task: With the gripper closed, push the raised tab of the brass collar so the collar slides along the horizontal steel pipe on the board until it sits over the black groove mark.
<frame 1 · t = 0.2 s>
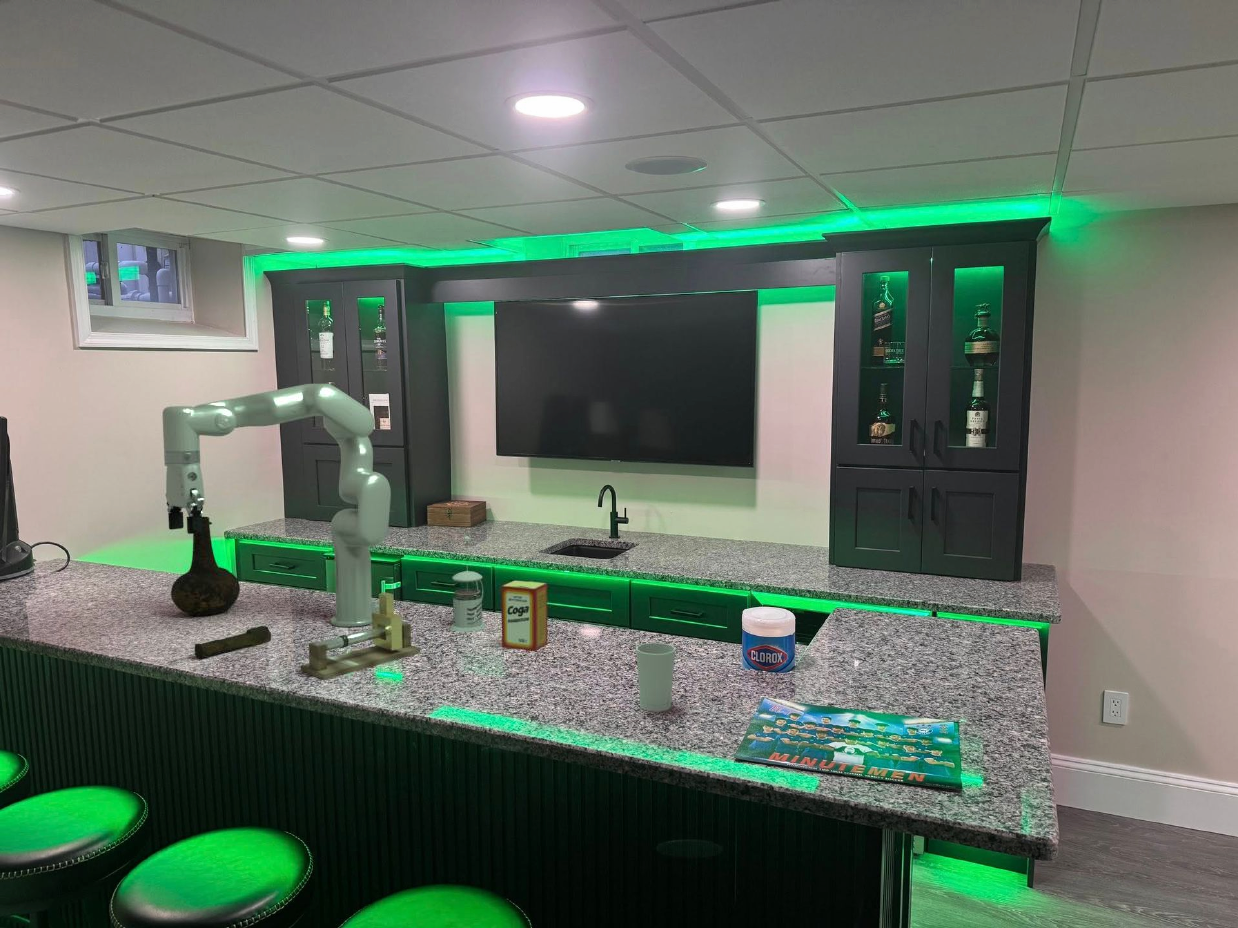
hand: (185, 530, 201), 31 cm above the worktop, tool pointing down, fingers open, 9 cm apart
cup: (655, 706, 174), on the worktop
french press: (469, 626, 234), on the worktop
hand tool: (234, 650, 212), on the worktop
baking soda box: (524, 646, 215), on the worktop
pipe stand: (362, 661, 202), on the worktop
glass bottle: (206, 612, 248), on the worktop
pipe: (361, 636, 202), point 5 cm above the worktop
collar: (386, 619, 207), point 9 cm above the worktop, slide at 0.0 cm
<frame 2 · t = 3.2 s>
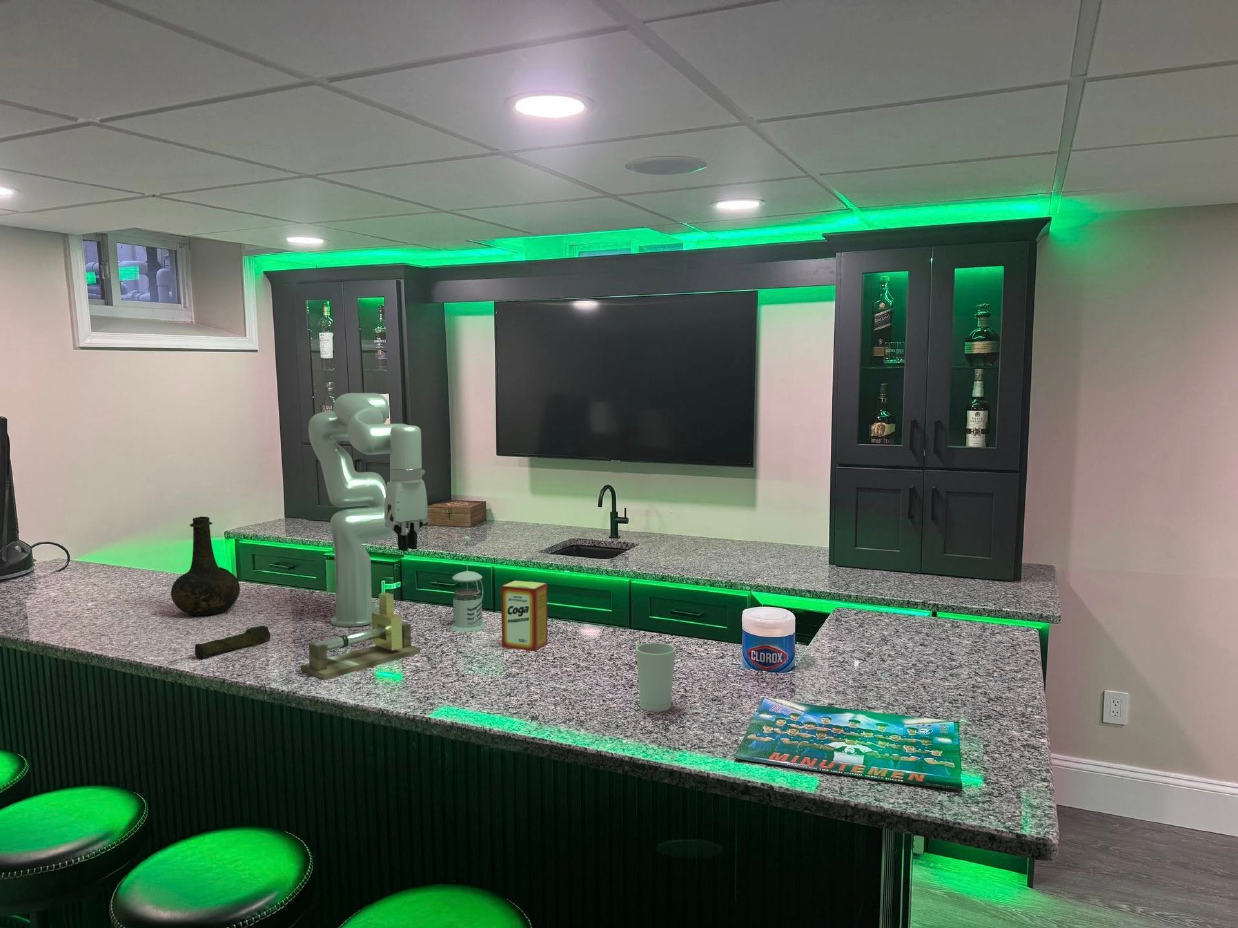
hand: (407, 549, 211), 25 cm above the worktop, tool pointing down, fingers closed
nothing on the worktop moved.
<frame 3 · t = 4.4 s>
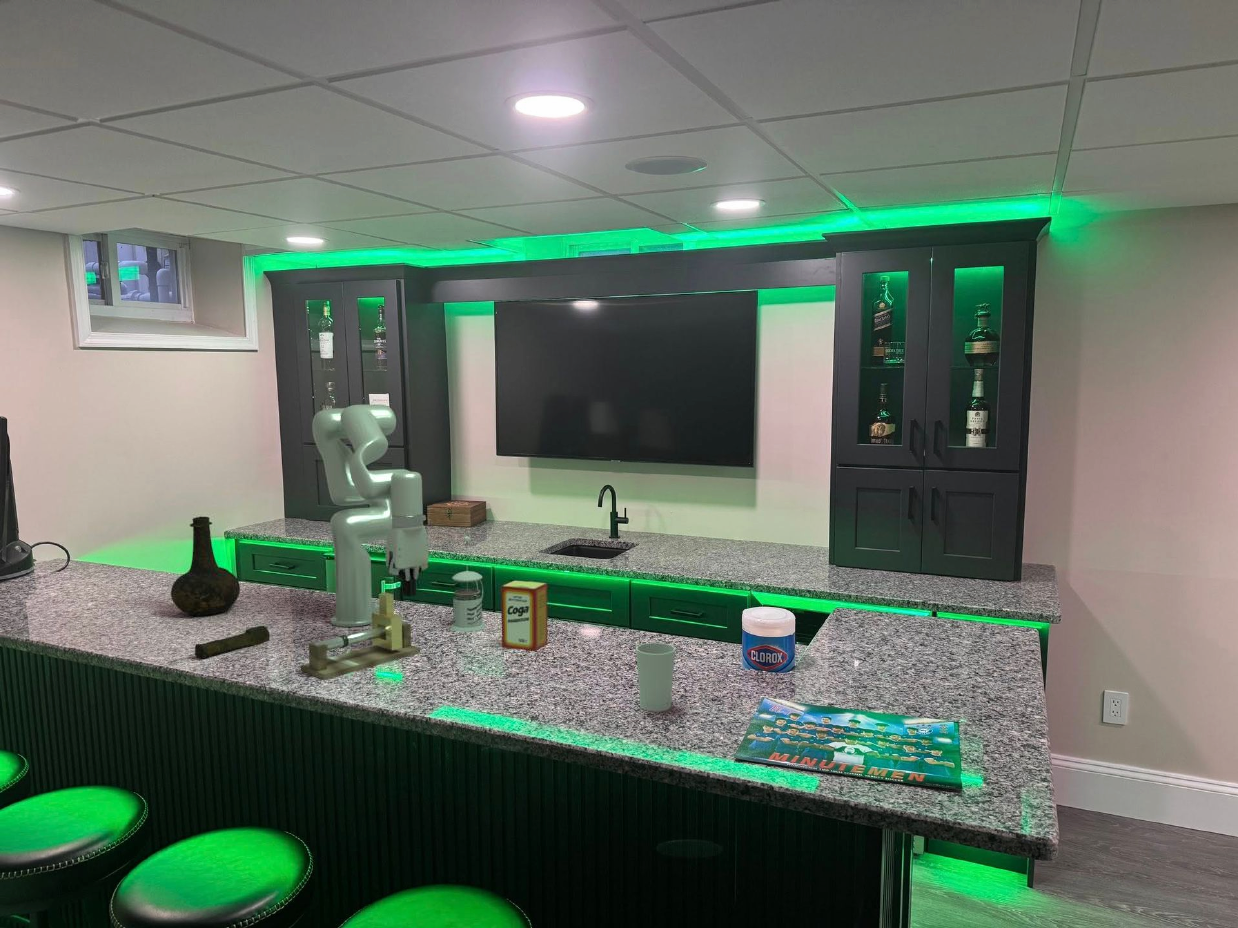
hand: (409, 595, 211), 14 cm above the worktop, tool pointing down, fingers closed
nothing on the worktop moved.
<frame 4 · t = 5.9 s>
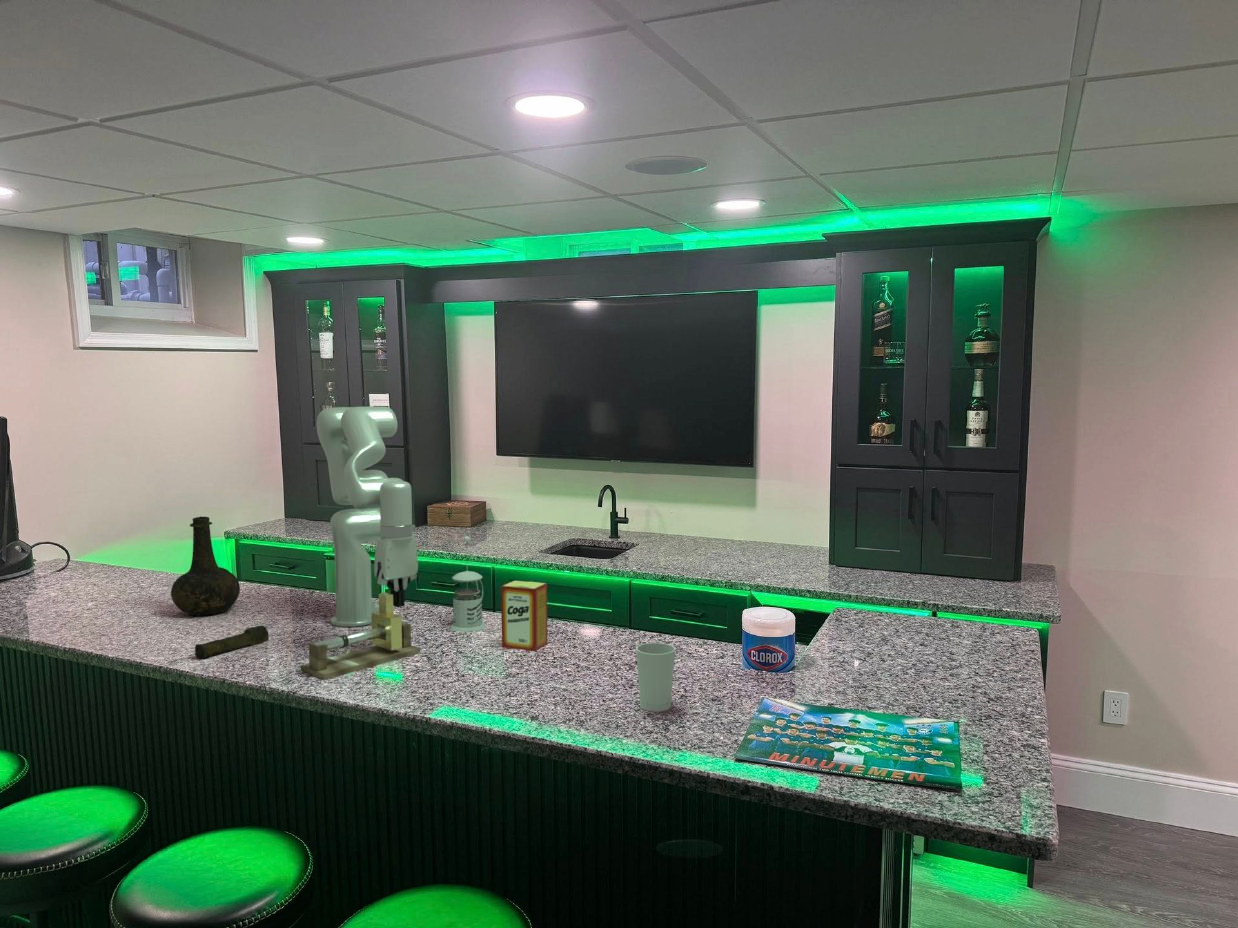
hand: (398, 605, 209), 12 cm above the worktop, tool pointing down, fingers closed
collar: (386, 620, 207), point 9 cm above the worktop, slide at 0.1 cm, touching gripper
everything else where it was.
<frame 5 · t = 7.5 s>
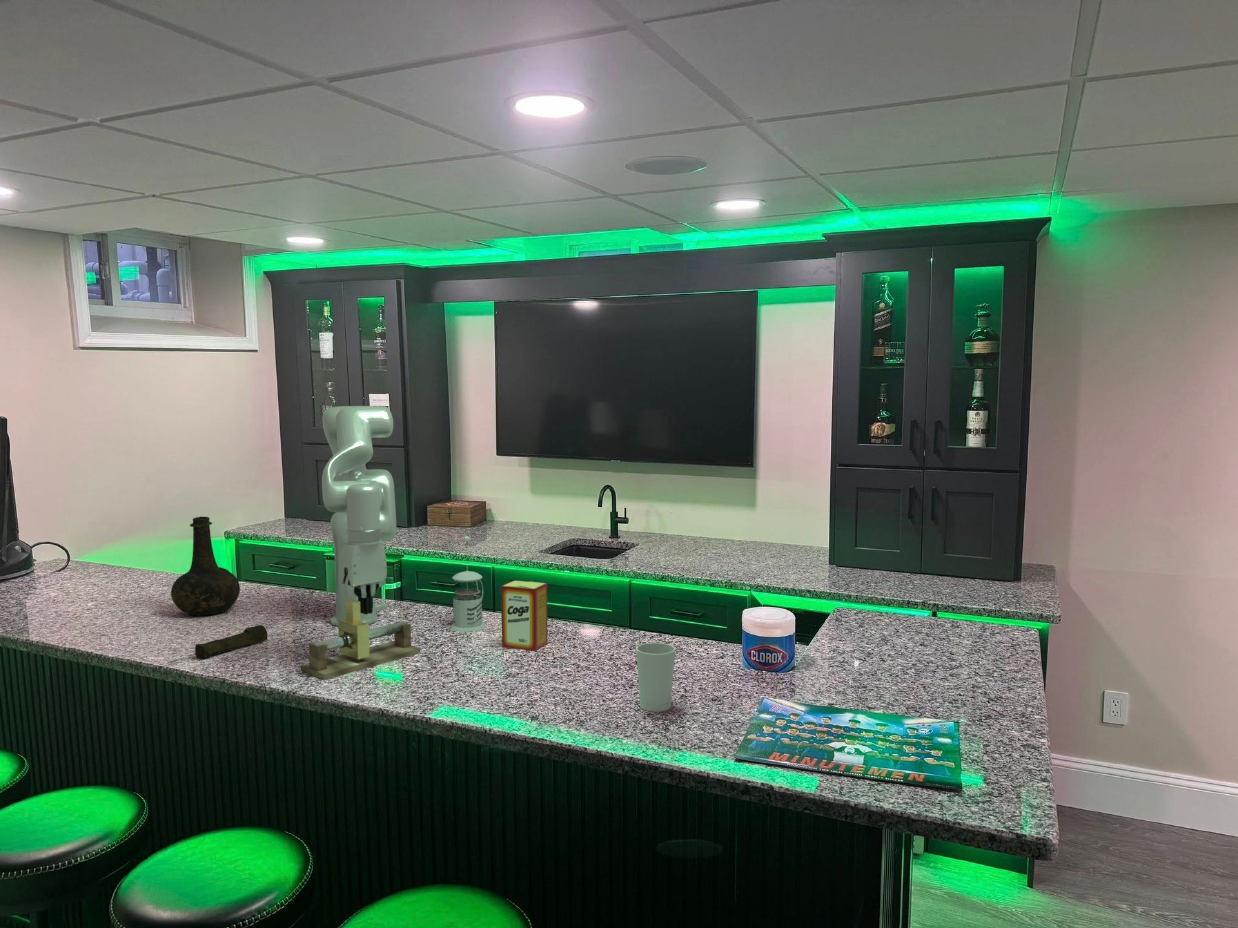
hand: (365, 612, 202), 12 cm above the worktop, tool pointing down, fingers closed
collar: (353, 627, 200), point 9 cm above the worktop, slide at 9.2 cm, touching gripper
everything else where it was.
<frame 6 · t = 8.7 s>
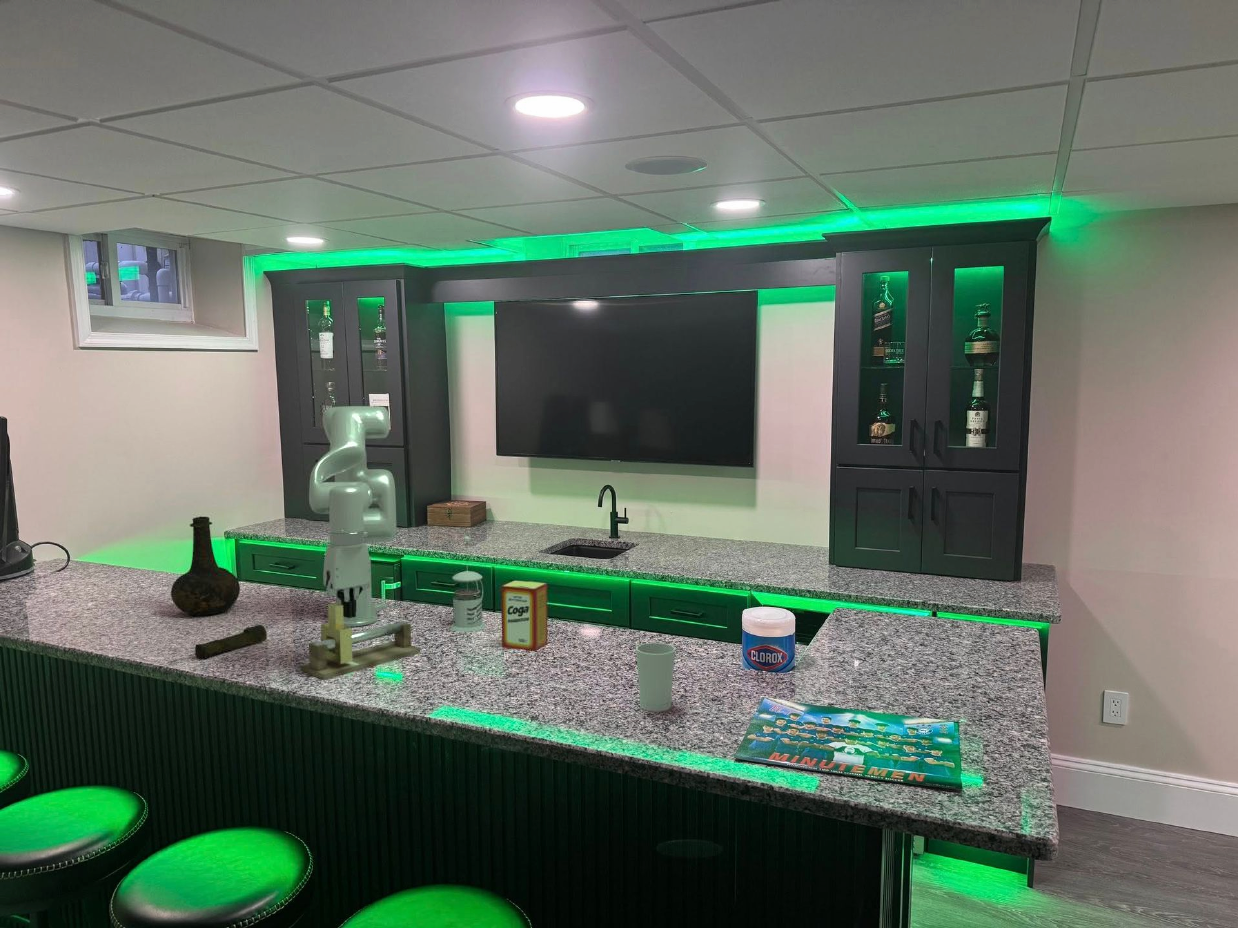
hand: (349, 616, 199), 12 cm above the worktop, tool pointing down, fingers closed
collar: (336, 631, 197), point 9 cm above the worktop, slide at 13.7 cm, touching gripper
everything else where it was.
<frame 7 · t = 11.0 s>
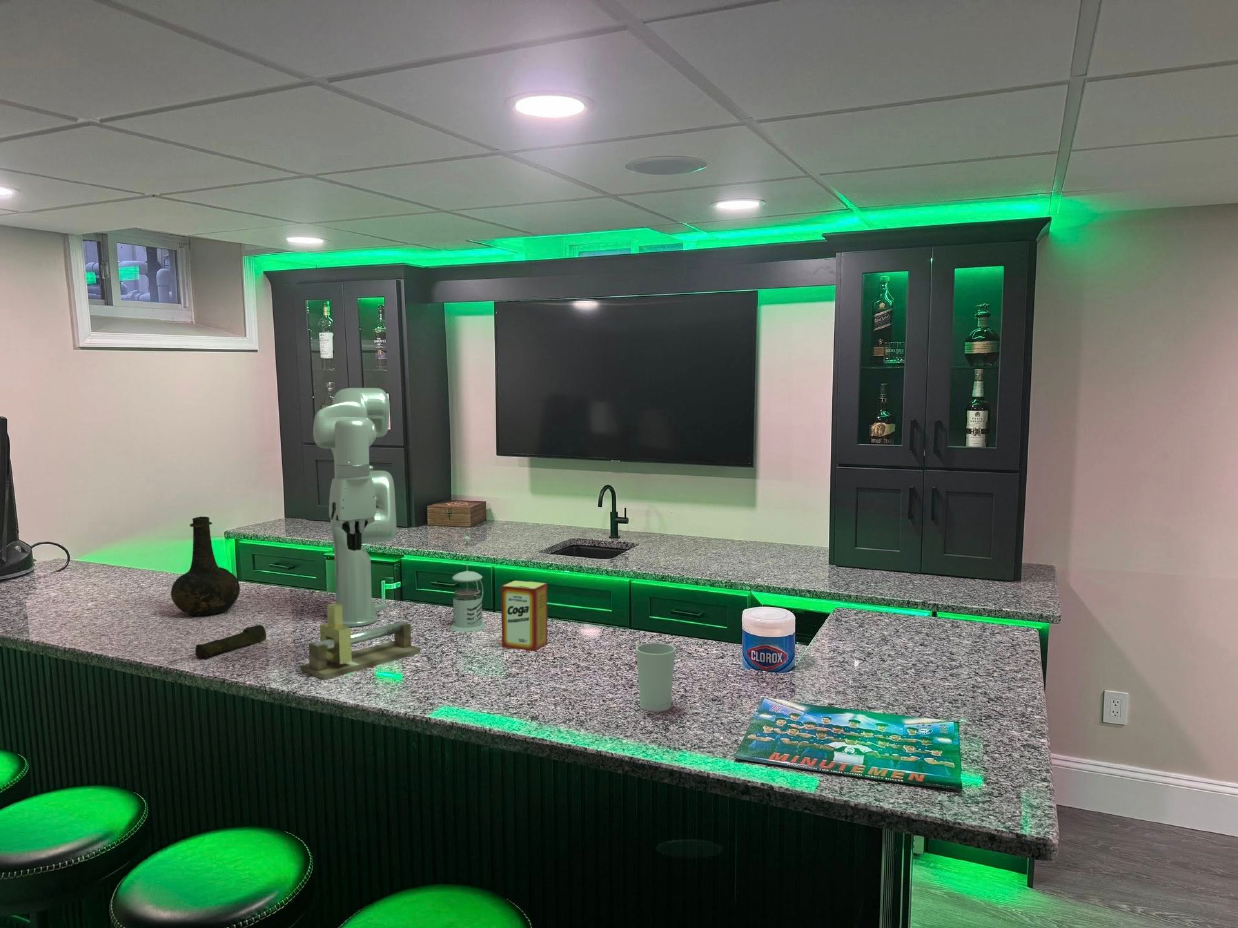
hand: (354, 549, 200), 27 cm above the worktop, tool pointing down, fingers closed
collar: (335, 632, 196), point 9 cm above the worktop, slide at 13.9 cm
everything else where it was.
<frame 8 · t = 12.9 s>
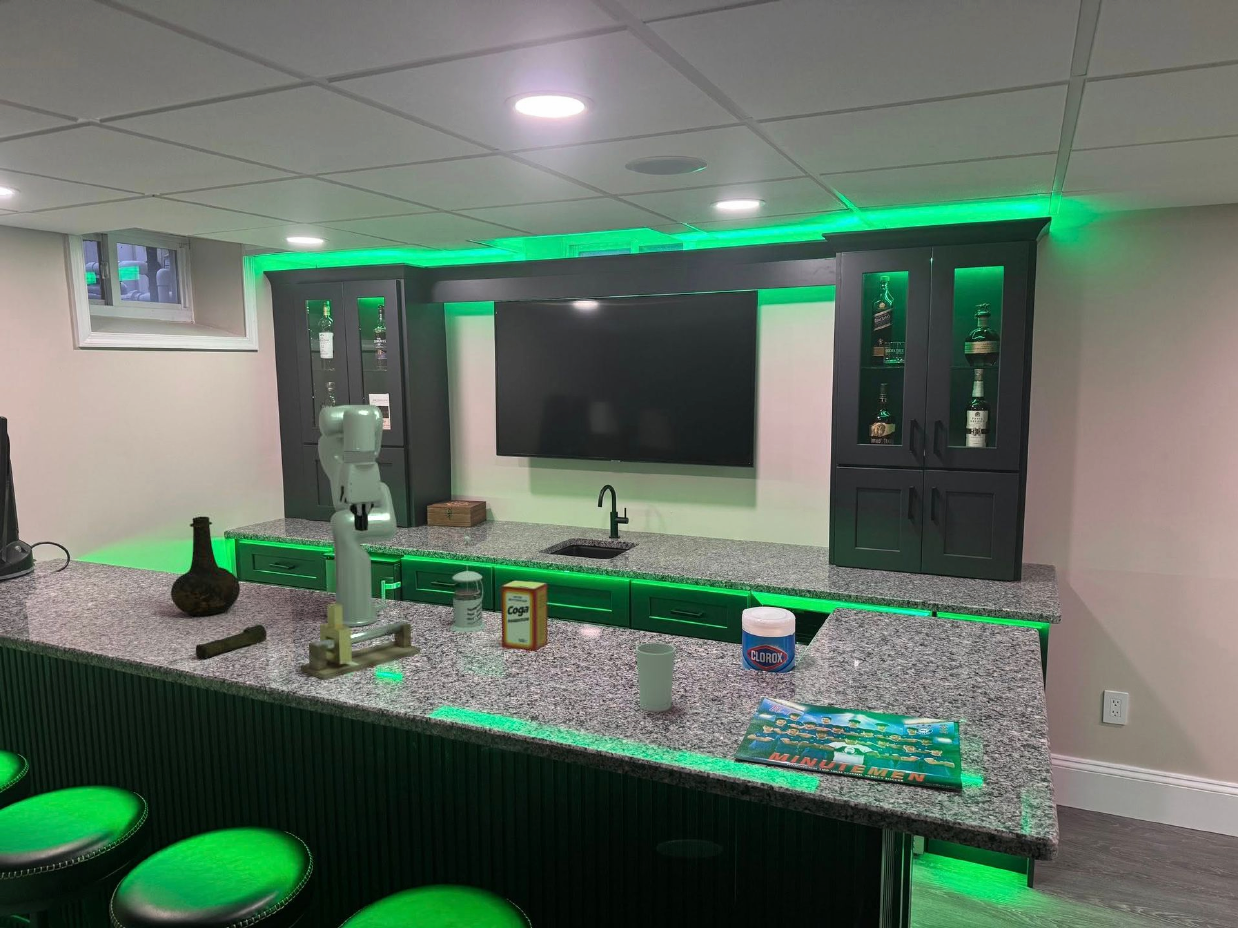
hand: (361, 530, 215), 29 cm above the worktop, tool pointing down, fingers closed
nothing on the worktop moved.
at the end: collar slide at 13.9 cm; the gripper is holding nothing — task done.
